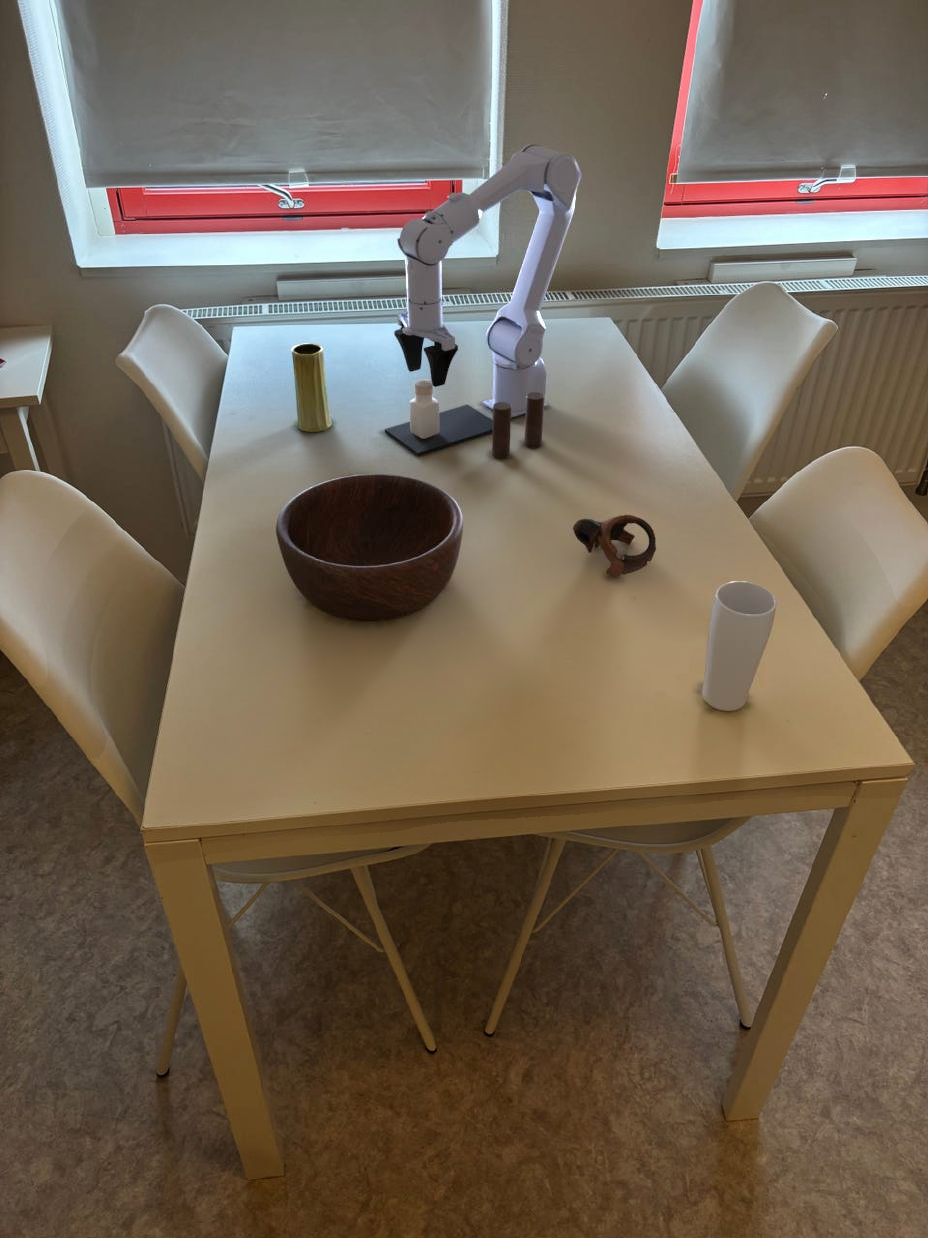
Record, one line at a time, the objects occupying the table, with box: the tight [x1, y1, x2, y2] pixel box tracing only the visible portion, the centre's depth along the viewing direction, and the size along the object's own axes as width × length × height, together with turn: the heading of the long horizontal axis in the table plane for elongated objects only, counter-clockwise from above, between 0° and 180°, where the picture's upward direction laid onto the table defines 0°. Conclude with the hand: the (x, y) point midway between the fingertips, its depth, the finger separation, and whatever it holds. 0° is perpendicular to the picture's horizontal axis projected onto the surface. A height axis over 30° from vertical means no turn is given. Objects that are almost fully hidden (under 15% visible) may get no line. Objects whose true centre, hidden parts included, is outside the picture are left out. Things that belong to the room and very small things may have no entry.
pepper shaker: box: [409, 378, 440, 439], centre depth 166 cm, size 4×4×10 cm
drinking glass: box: [701, 580, 778, 712], centre depth 111 cm, size 7×7×15 cm
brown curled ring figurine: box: [572, 514, 657, 579], centre depth 137 cm, size 12×10×8 cm
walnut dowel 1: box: [491, 402, 512, 460], centre depth 162 cm, size 3×3×9 cm
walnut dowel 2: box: [523, 392, 545, 449], centre depth 165 cm, size 3×3×9 cm
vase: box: [291, 342, 332, 433], centre depth 169 cm, size 6×6×14 cm
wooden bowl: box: [275, 473, 464, 622], centre depth 131 cm, size 25×25×10 cm
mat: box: [384, 404, 493, 457], centre depth 171 cm, size 18×11×1 cm, turn 125°
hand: (426, 377), depth 165 cm, fingers open, 7 cm apart
